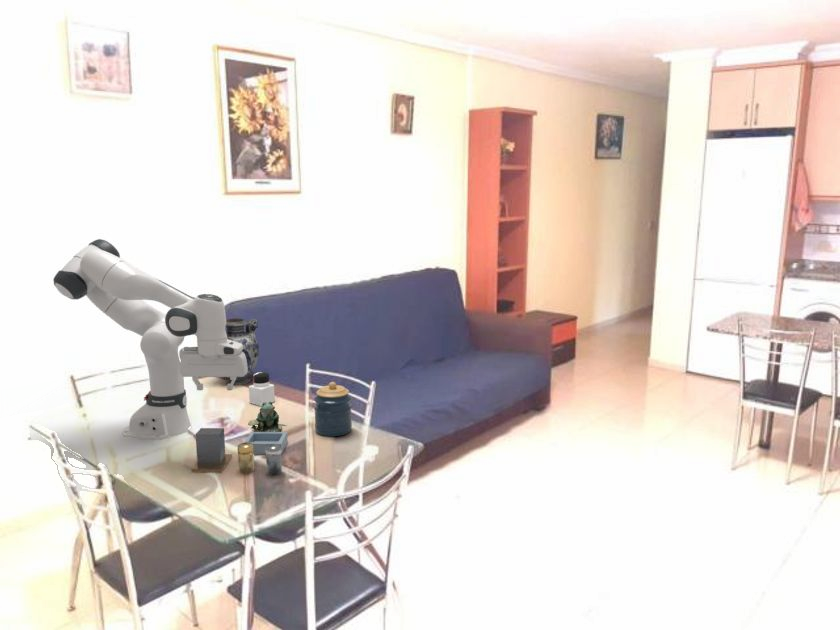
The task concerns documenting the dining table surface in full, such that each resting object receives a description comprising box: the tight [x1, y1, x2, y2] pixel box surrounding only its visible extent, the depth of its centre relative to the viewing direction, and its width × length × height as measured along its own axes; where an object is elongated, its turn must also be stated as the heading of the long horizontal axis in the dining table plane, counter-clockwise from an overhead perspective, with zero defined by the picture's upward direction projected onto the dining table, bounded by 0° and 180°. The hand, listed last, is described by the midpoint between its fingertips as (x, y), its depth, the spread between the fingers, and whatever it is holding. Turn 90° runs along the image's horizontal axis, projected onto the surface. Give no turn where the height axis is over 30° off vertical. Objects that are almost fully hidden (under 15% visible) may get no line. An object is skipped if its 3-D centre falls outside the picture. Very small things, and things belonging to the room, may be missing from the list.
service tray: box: [243, 431, 289, 455], centre depth 206 cm, size 12×10×4 cm
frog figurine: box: [247, 402, 288, 432], centre depth 219 cm, size 18×18×12 cm
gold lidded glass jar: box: [237, 441, 255, 474], centre depth 189 cm, size 5×5×8 cm
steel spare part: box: [265, 444, 283, 476], centre depth 188 cm, size 5×5×8 cm
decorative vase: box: [225, 318, 260, 386], centre depth 275 cm, size 21×19×28 cm
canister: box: [313, 381, 353, 437], centre depth 221 cm, size 13×13×18 cm
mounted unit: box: [190, 427, 233, 473], centre depth 193 cm, size 9×11×11 cm
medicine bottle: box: [248, 371, 276, 407], centre depth 250 cm, size 7×7×12 cm
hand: (215, 389), depth 198 cm, fingers open, 8 cm apart
